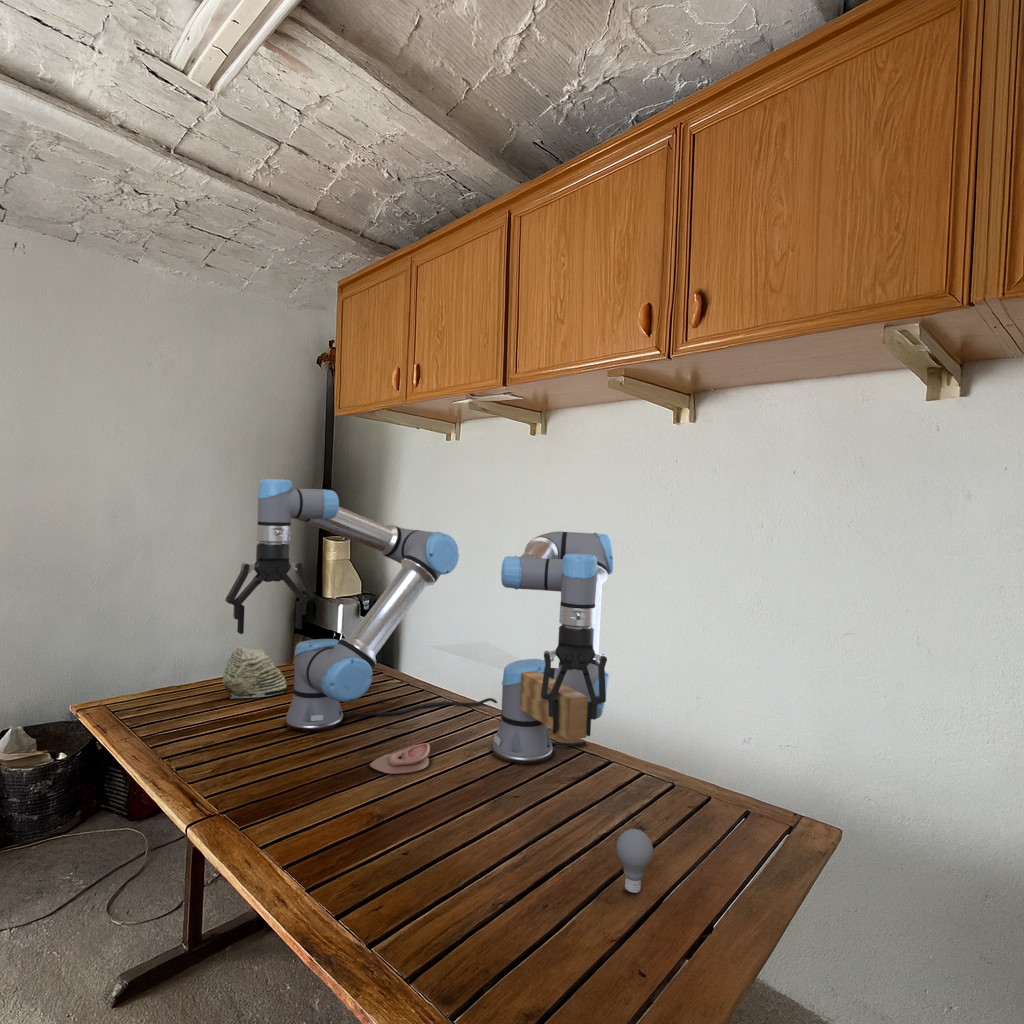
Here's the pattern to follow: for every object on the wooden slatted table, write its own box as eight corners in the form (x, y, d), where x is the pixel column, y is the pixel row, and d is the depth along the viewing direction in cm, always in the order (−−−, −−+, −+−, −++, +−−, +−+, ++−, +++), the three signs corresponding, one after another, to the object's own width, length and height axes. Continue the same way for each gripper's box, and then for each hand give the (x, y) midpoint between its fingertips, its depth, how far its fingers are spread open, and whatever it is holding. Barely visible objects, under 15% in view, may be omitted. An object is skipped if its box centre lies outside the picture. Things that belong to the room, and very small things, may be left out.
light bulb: (610, 879, 108) (613, 822, 108) (644, 879, 109) (647, 822, 109) (619, 902, 102) (622, 840, 102) (655, 901, 103) (658, 840, 103)
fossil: (218, 695, 195) (220, 647, 195) (278, 685, 208) (279, 640, 207) (228, 703, 189) (230, 653, 188) (289, 692, 201) (290, 645, 201)
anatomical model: (364, 753, 147) (384, 735, 158) (364, 770, 147) (383, 751, 158) (419, 760, 144) (435, 742, 155) (418, 778, 144) (434, 758, 156)
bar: (519, 708, 153) (521, 672, 153) (535, 706, 155) (537, 671, 155) (568, 740, 133) (570, 698, 133) (586, 737, 135) (588, 696, 135)
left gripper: (221, 544, 142) (217, 638, 143) (329, 543, 157) (326, 628, 158) (214, 541, 149) (210, 631, 149) (318, 541, 163) (315, 623, 164)
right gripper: (531, 626, 133) (525, 735, 133) (624, 631, 132) (618, 742, 132) (531, 620, 141) (526, 723, 141) (620, 625, 139) (614, 729, 140)
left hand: (270, 630), depth 153 cm, fingers open, 13 cm apart
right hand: (571, 732), depth 136 cm, fingers closed on bar, 6 cm apart
